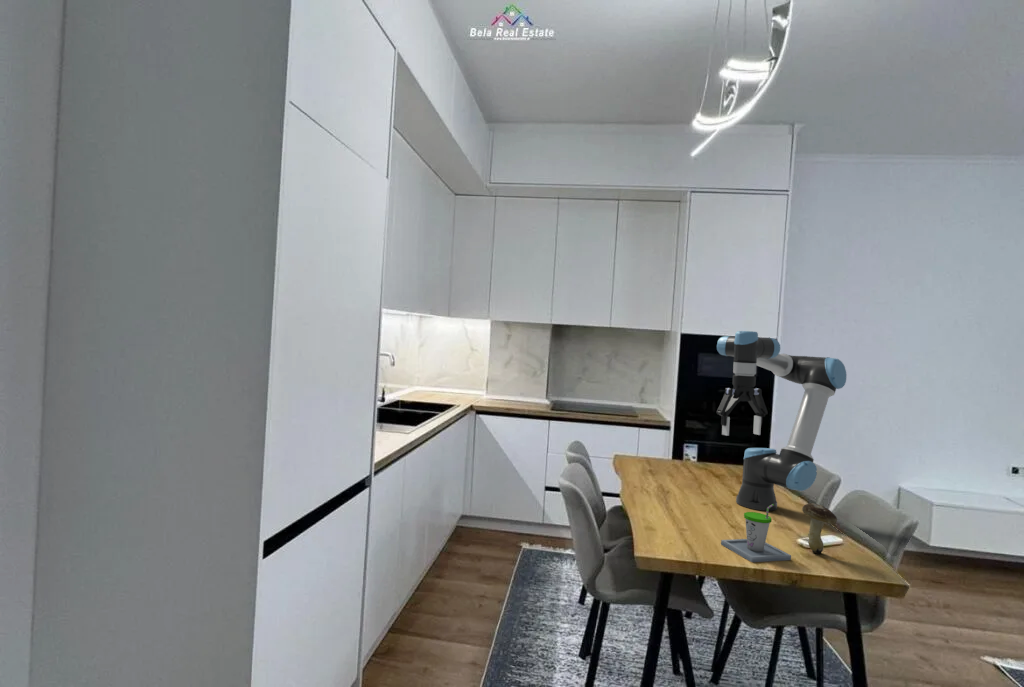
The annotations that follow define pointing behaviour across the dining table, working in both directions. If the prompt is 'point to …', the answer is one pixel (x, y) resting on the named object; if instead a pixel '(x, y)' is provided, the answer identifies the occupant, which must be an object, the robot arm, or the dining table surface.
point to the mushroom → (817, 524)
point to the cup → (757, 529)
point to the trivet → (767, 555)
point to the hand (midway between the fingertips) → (741, 434)
